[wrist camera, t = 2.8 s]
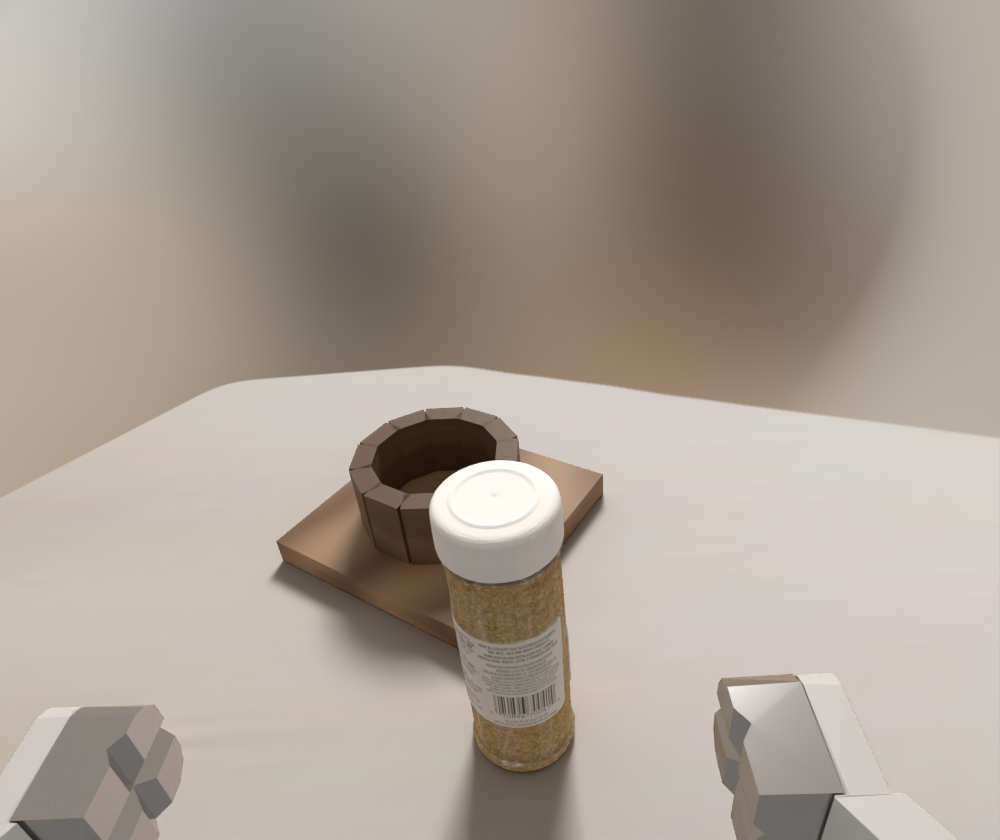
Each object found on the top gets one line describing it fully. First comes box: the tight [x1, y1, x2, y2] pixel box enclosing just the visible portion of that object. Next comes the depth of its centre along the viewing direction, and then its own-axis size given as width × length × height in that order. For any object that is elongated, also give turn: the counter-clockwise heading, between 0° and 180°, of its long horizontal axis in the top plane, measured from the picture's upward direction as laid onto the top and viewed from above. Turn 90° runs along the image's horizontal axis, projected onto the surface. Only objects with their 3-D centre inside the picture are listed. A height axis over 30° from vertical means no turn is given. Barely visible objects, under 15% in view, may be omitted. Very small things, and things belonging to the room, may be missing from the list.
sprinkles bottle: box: [429, 460, 575, 772], centre depth 27 cm, size 5×5×13 cm
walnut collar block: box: [276, 407, 603, 648], centre depth 41 cm, size 14×14×6 cm
